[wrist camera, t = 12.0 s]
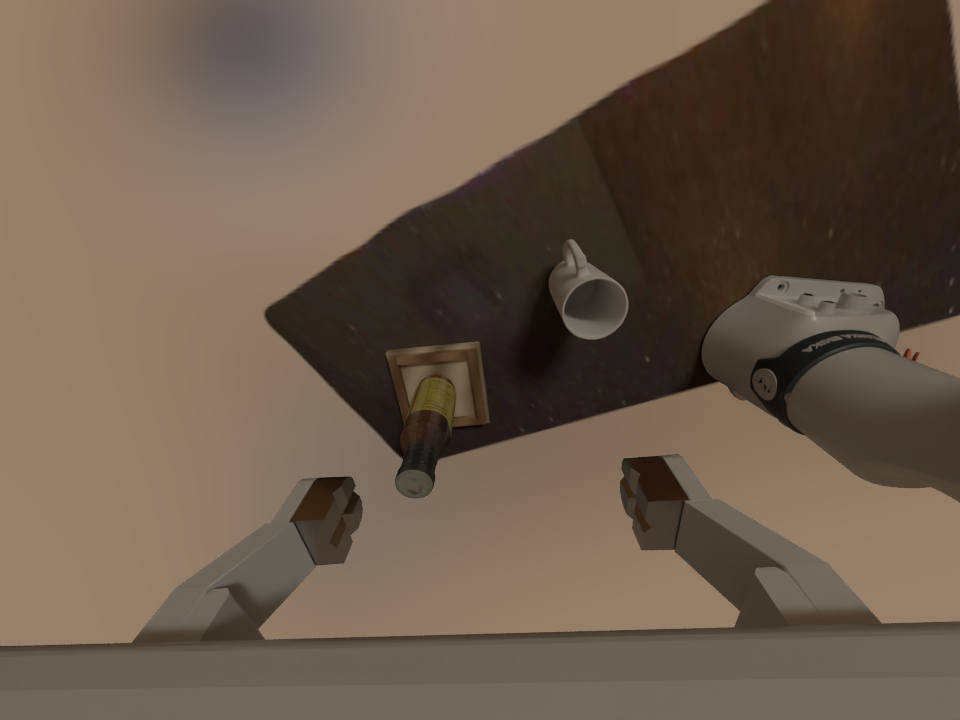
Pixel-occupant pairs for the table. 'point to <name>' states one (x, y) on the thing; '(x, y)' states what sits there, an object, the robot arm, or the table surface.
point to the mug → (586, 296)
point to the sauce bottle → (425, 435)
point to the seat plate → (451, 363)
